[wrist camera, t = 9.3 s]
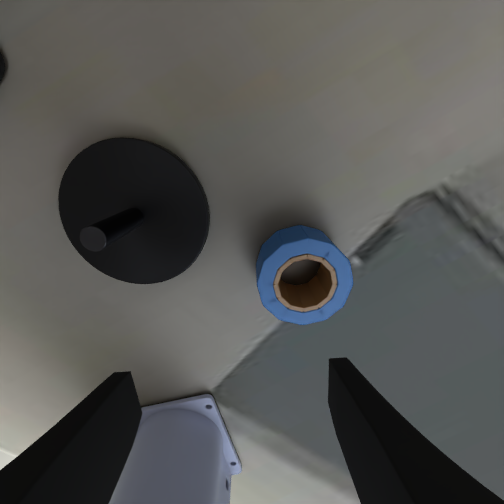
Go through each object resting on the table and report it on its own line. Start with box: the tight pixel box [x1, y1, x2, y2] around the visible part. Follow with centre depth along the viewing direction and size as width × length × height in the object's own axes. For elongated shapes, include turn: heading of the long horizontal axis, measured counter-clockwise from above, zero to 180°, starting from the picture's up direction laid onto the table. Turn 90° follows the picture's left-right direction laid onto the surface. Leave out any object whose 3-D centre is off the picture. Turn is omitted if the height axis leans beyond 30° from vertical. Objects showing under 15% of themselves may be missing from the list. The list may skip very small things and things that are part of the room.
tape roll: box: [256, 225, 353, 325], centre depth 17 cm, size 5×5×3 cm
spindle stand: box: [58, 138, 210, 284], centre depth 15 cm, size 9×9×5 cm
